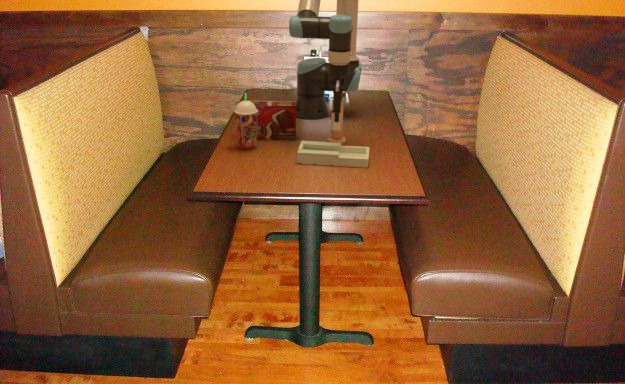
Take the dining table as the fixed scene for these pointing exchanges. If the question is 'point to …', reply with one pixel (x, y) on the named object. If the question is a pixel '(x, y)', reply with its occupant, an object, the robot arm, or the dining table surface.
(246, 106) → the smoothie
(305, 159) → the slot board
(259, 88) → the dining table surface
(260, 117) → the ice cream box
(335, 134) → the peg
